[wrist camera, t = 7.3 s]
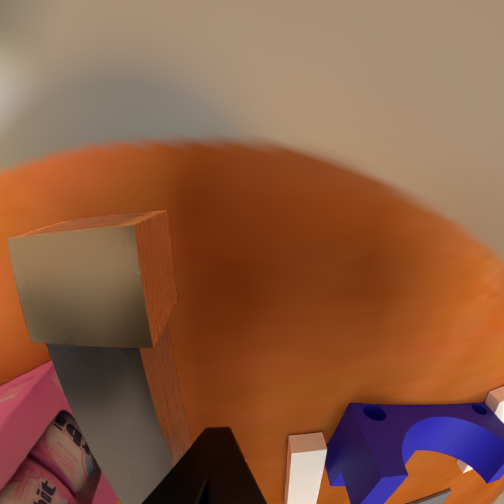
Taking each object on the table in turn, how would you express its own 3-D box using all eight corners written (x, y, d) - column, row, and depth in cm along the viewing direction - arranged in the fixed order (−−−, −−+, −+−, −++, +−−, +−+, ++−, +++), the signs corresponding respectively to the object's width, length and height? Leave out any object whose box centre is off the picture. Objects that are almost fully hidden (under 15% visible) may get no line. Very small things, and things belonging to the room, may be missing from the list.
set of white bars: (472, 455, 19) (480, 465, 17) (196, 503, 18) (194, 518, 17) (505, 385, 17) (516, 395, 15) (177, 437, 16) (173, 454, 15)
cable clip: (321, 451, 17) (340, 525, 11) (348, 400, 16) (381, 477, 10) (454, 444, 18) (486, 493, 12) (483, 400, 17) (524, 447, 11)
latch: (201, 195, 12) (113, 234, 4) (238, 497, 16) (239, 608, 8) (138, 200, 12) (-21, 248, 4) (199, 496, 16) (188, 605, 8)
